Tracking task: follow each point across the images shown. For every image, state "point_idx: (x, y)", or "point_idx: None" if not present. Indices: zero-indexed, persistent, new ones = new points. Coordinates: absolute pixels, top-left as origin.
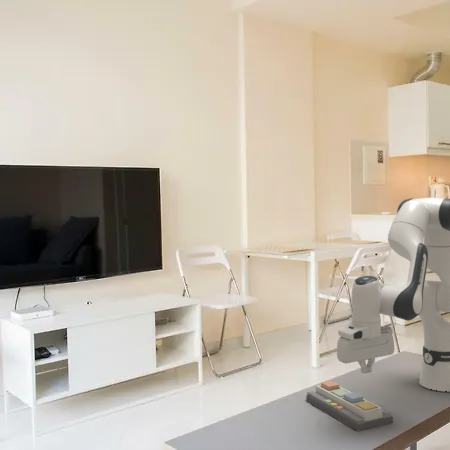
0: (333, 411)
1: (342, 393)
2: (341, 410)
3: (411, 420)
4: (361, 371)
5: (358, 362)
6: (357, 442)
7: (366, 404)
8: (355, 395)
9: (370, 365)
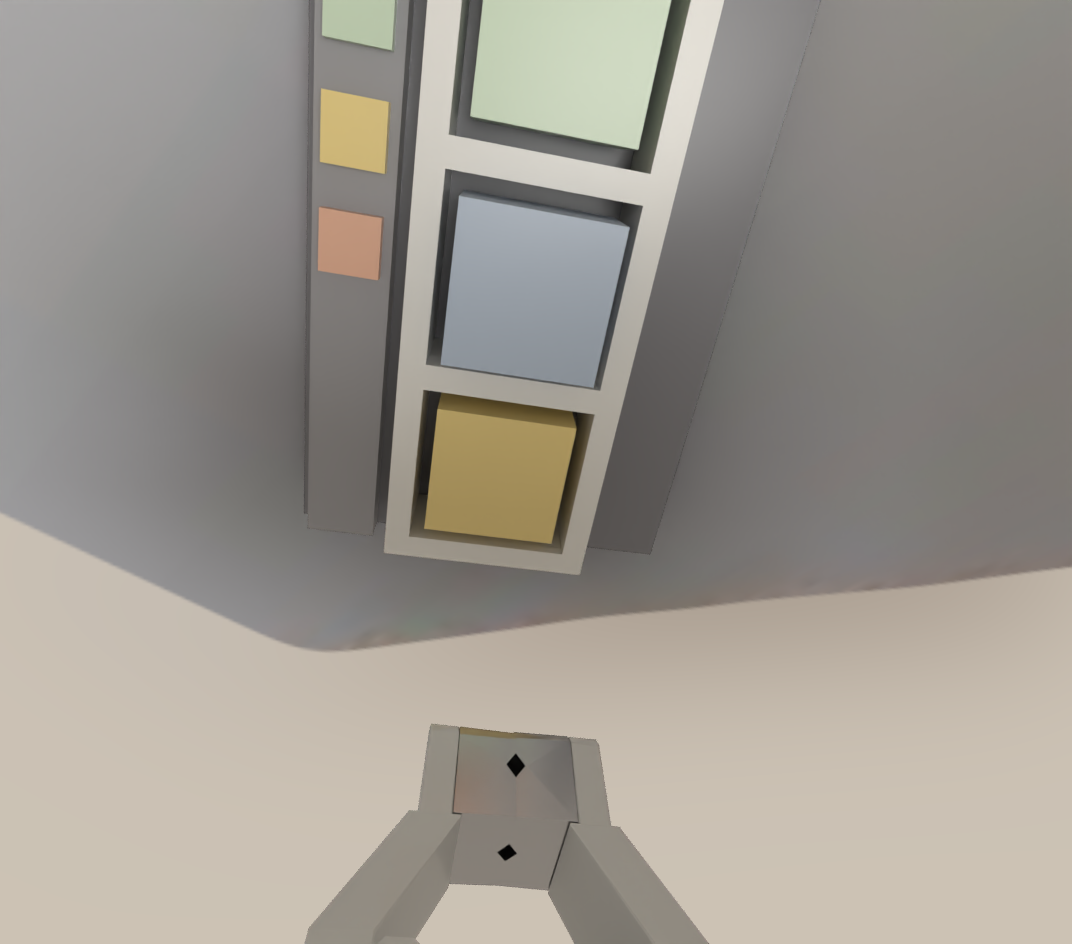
0: (307, 191)
1: (564, 63)
2: (331, 294)
3: (770, 564)
4: (429, 736)
5: (324, 917)
6: (218, 579)
7: (521, 466)
8: (552, 313)
9: (564, 913)
